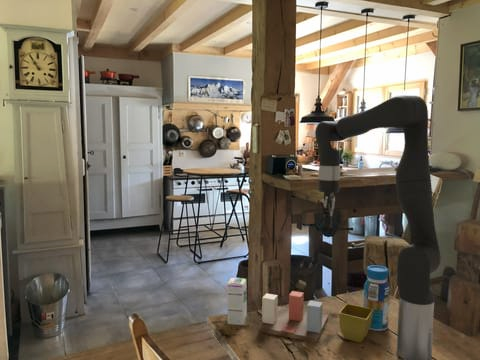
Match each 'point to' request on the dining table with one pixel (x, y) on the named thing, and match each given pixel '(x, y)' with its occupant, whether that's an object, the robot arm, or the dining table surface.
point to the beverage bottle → (377, 296)
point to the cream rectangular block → (269, 308)
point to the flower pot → (355, 321)
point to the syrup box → (236, 301)
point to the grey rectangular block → (314, 316)
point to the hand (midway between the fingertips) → (327, 226)
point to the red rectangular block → (296, 305)
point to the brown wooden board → (292, 326)
